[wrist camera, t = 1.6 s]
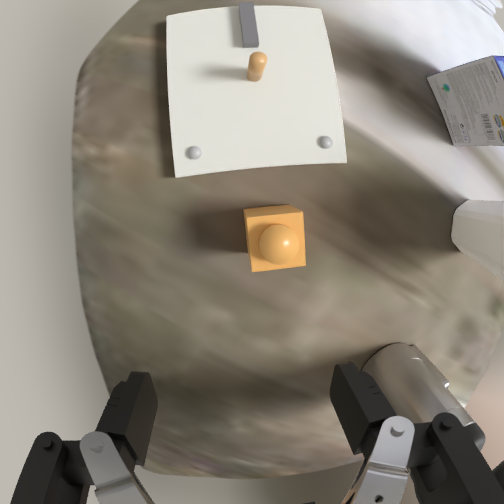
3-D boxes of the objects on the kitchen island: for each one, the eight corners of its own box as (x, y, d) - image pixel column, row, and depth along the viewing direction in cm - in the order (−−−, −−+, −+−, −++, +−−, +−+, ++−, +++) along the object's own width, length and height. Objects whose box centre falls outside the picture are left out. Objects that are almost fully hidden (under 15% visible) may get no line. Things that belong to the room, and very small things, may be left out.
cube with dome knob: (288, 204, 26) (306, 213, 20) (291, 248, 27) (308, 269, 21) (243, 209, 26) (247, 219, 20) (248, 253, 27) (253, 276, 21)
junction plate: (316, 15, 20) (332, -10, 15) (340, 163, 25) (365, 161, 20) (169, 22, 20) (158, -4, 14) (178, 177, 25) (165, 178, 19)
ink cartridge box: (473, 138, 25) (553, 140, 11) (453, 148, 25) (541, 152, 12) (447, 72, 22) (523, 51, 9) (424, 77, 23) (507, 50, 9)
